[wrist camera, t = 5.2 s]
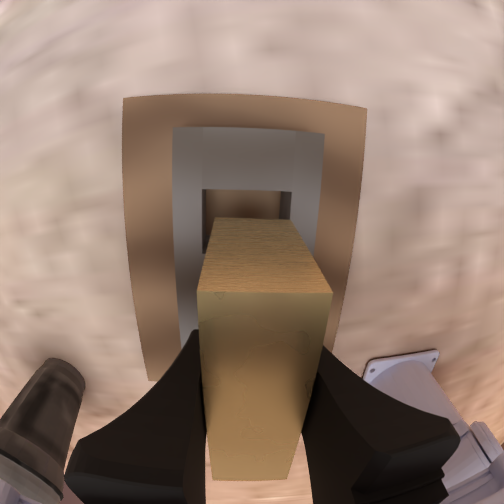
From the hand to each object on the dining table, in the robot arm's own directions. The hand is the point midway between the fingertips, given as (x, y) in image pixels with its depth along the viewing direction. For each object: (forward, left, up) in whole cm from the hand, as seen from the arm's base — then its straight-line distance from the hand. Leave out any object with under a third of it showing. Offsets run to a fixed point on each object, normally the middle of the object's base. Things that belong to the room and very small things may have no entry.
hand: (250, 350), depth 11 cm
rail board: (0, 0, -9) cm, 9 cm away
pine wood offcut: (0, 0, -3) cm, 3 cm away
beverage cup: (-12, +16, -9) cm, 22 cm away
